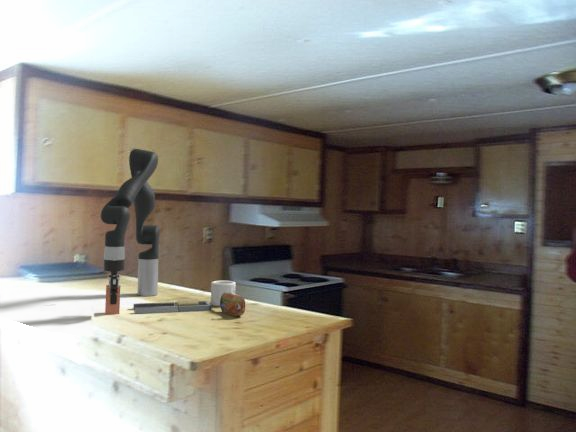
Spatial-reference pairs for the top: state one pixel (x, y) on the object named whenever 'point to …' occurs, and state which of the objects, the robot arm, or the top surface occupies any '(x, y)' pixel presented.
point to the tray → (195, 307)
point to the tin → (232, 304)
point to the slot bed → (155, 307)
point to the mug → (221, 290)
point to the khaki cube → (192, 302)
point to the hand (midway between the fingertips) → (113, 302)
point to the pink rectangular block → (112, 307)
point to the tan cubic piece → (182, 302)
